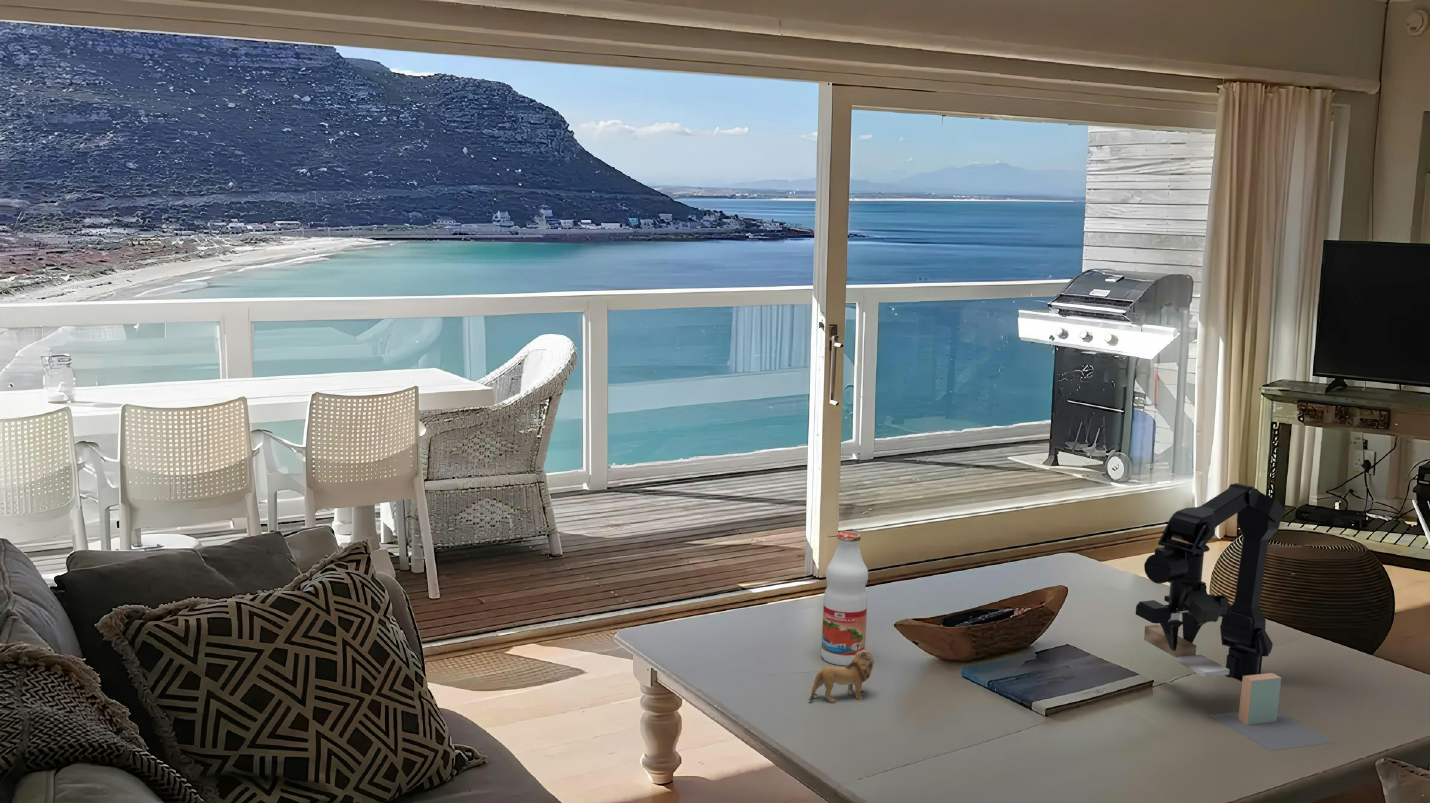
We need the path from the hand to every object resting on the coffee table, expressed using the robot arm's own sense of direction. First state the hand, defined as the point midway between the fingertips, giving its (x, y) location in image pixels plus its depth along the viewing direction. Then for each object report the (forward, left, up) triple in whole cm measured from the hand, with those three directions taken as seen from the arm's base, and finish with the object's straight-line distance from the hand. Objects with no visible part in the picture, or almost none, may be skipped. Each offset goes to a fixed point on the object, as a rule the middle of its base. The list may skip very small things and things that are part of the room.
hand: (1179, 649), depth 232 cm
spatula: (0, +1, -1) cm, 2 cm away
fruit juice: (+57, -37, -11) cm, 69 cm away
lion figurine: (+66, -18, -11) cm, 69 cm away
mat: (-9, +16, -11) cm, 22 cm away
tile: (-9, +13, -11) cm, 19 cm away
